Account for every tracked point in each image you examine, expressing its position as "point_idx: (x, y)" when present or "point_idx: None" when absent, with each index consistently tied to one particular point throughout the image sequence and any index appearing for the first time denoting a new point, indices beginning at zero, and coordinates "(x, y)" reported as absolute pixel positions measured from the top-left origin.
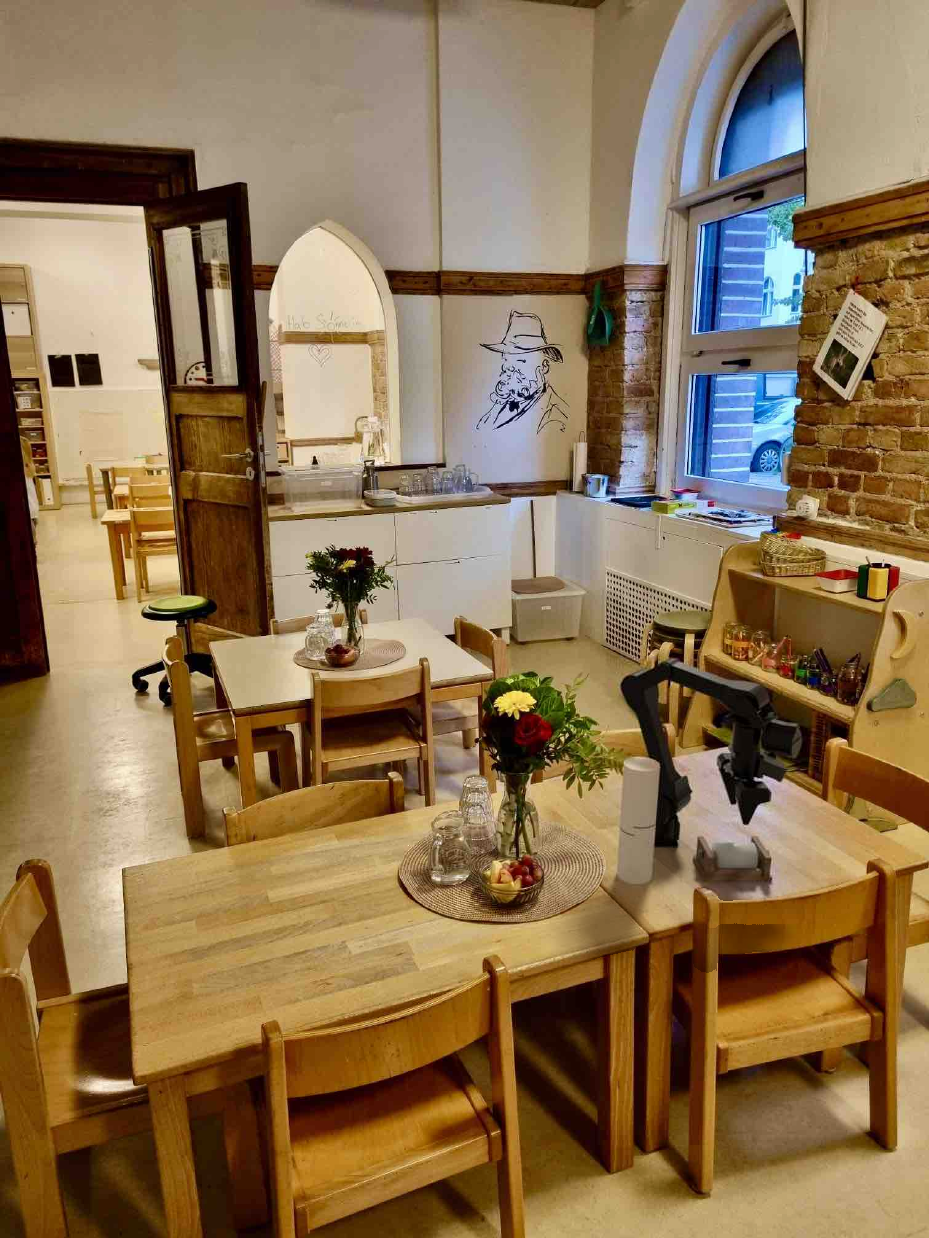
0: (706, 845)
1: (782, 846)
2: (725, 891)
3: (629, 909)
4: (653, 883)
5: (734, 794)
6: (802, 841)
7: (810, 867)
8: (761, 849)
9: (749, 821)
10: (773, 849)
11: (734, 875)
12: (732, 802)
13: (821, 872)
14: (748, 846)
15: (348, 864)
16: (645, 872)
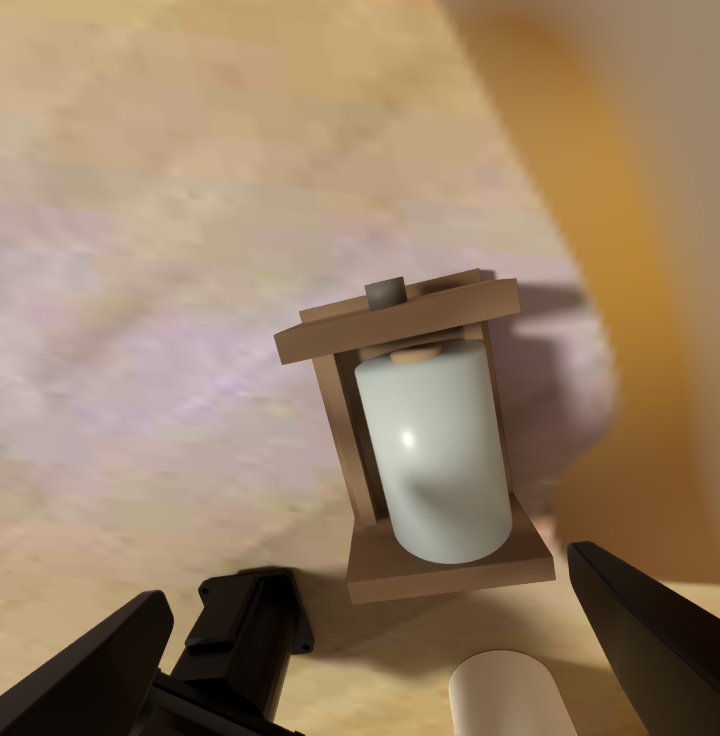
0: (435, 579)
1: (159, 192)
2: (571, 448)
3: None
4: (544, 647)
5: (72, 730)
6: (78, 89)
7: (312, 75)
8: (426, 326)
9: (632, 571)
10: (198, 235)
11: None
12: (159, 635)
13: (346, 21)
14: (453, 407)
15: None
16: (567, 716)
